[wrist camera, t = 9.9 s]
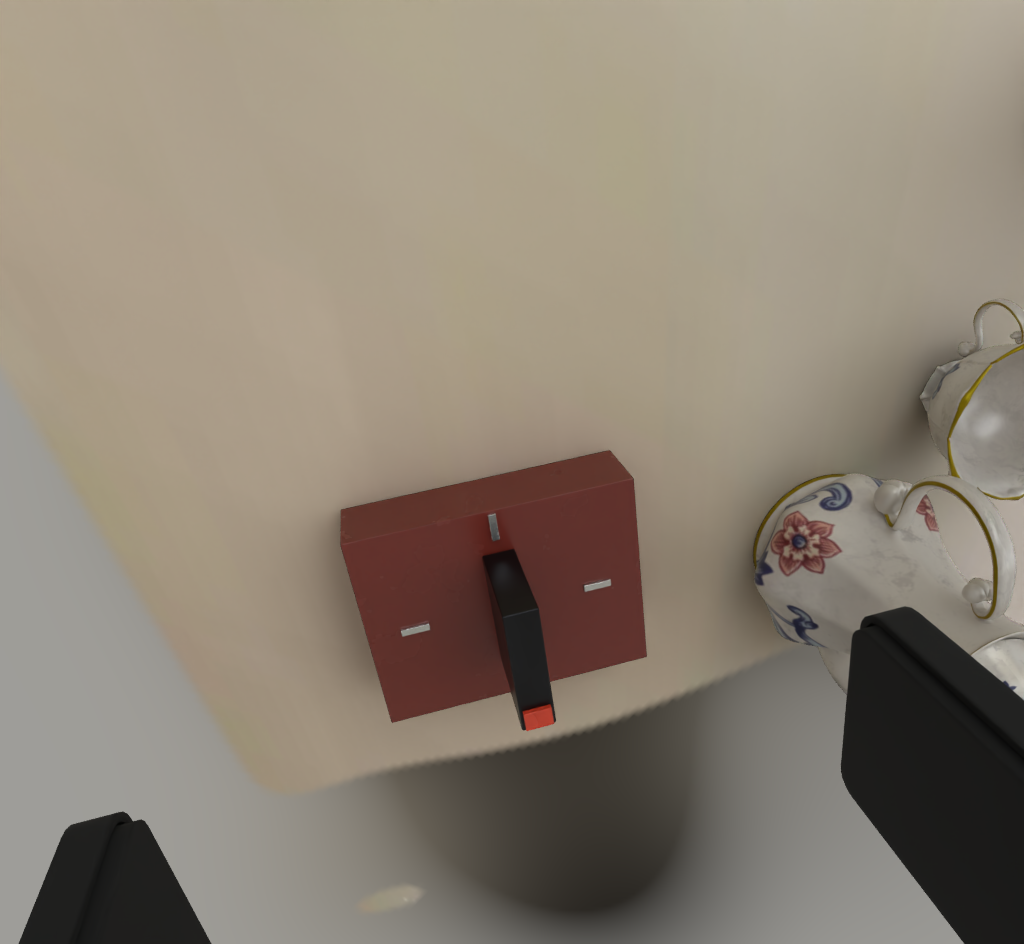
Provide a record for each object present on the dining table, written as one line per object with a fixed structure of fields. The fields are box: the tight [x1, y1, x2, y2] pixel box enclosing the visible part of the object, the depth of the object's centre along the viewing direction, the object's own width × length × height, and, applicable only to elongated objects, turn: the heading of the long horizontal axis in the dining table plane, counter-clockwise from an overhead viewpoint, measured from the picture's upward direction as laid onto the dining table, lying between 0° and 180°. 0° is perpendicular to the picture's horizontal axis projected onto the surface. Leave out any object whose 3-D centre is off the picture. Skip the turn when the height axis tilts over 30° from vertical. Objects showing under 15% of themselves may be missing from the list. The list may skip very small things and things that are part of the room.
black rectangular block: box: [482, 549, 556, 731], centre depth 34 cm, size 6×2×5 cm, turn 8°
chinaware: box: [753, 299, 1024, 700], centre depth 37 cm, size 28×17×17 cm, turn 7°
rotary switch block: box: [340, 450, 647, 723], centre depth 38 cm, size 14×11×4 cm
